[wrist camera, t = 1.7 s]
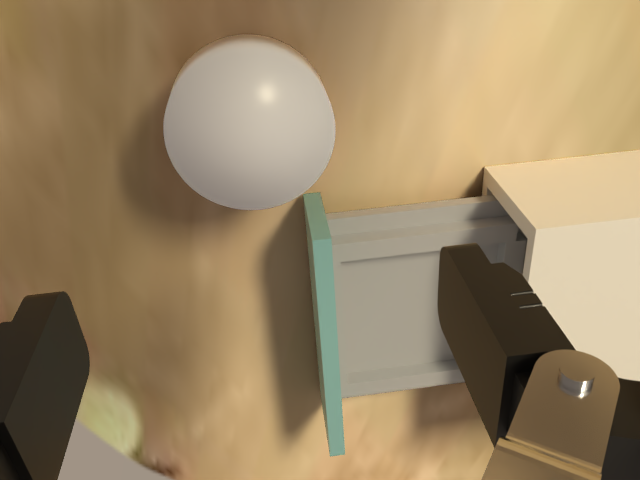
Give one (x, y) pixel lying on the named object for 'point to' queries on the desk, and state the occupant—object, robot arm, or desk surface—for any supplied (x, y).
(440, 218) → the tray
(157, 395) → the desk surface
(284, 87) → the disc
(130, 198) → the desk surface
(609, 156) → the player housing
